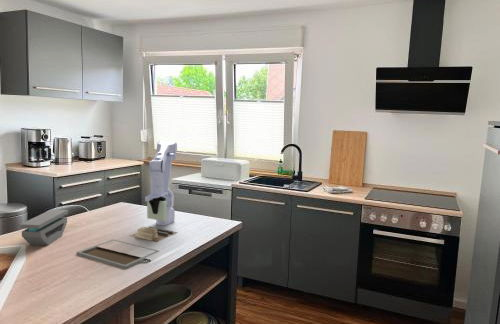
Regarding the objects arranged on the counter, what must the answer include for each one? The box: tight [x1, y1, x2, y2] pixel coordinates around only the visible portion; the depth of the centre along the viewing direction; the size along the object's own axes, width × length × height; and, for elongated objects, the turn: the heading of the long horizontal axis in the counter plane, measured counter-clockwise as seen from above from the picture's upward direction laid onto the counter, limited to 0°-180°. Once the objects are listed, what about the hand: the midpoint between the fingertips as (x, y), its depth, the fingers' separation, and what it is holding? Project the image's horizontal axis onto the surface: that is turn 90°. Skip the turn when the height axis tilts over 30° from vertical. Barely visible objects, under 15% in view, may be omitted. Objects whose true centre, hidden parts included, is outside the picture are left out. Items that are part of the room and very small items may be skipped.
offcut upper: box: [137, 226, 157, 235], centre depth 174 cm, size 4×8×2 cm, turn 70°
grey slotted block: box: [19, 208, 69, 246], centre depth 169 cm, size 25×8×11 cm, turn 0°
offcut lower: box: [134, 231, 158, 241], centre depth 175 cm, size 5×9×2 cm, turn 64°
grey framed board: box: [75, 239, 160, 270], centre depth 156 cm, size 19×2×30 cm
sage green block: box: [146, 201, 167, 221], centre depth 181 cm, size 2×10×9 cm, turn 65°
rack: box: [129, 226, 179, 243], centre depth 180 cm, size 16×16×2 cm
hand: (156, 213), depth 182 cm, fingers closed on sage green block, 2 cm apart
